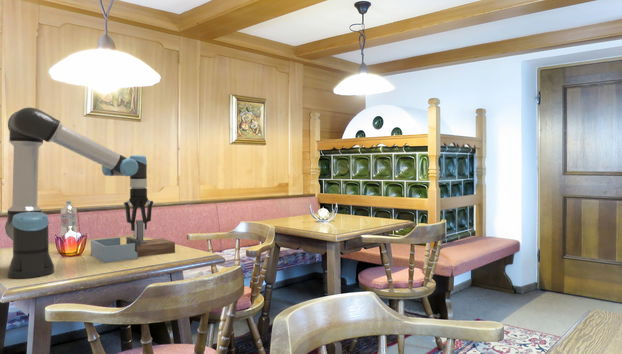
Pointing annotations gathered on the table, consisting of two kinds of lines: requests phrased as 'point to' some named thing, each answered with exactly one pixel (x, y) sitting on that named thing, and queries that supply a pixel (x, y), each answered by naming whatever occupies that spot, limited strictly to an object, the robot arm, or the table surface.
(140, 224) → the scraper
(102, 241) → the box
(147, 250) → the brown wooden block
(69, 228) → the water bottle
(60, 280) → the table surface
